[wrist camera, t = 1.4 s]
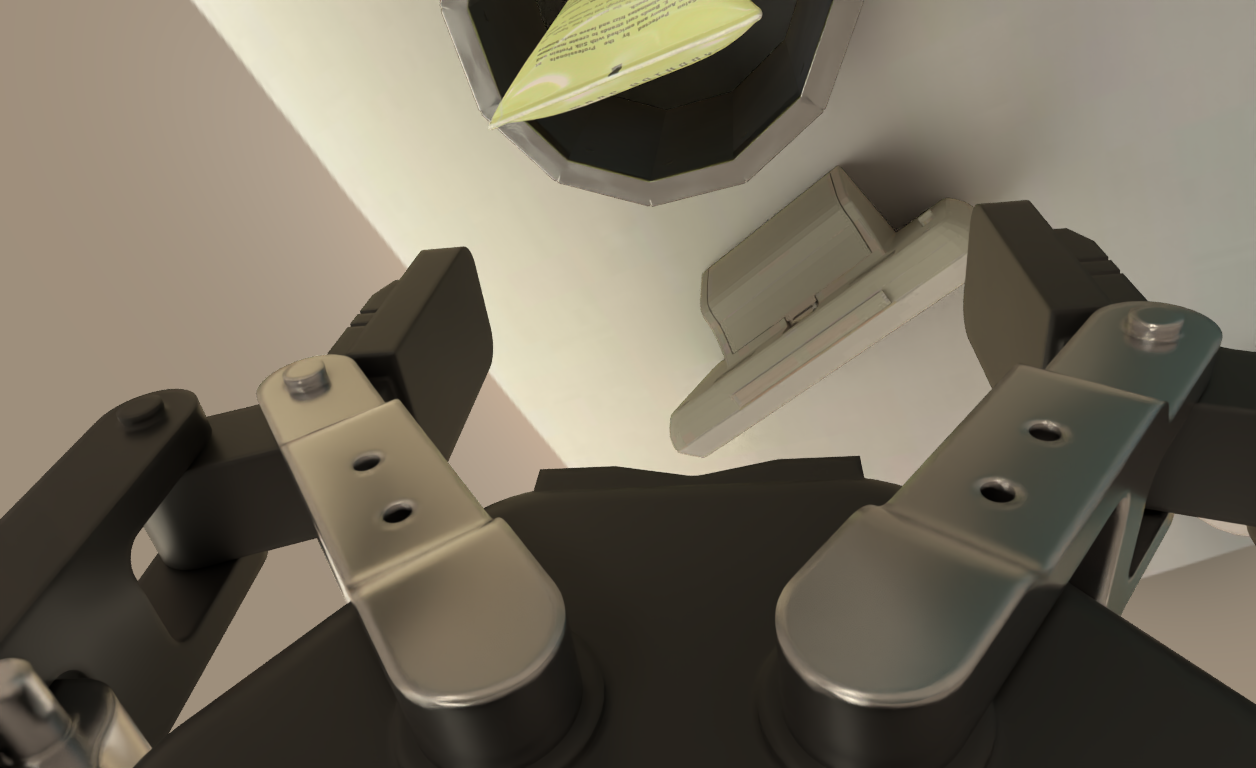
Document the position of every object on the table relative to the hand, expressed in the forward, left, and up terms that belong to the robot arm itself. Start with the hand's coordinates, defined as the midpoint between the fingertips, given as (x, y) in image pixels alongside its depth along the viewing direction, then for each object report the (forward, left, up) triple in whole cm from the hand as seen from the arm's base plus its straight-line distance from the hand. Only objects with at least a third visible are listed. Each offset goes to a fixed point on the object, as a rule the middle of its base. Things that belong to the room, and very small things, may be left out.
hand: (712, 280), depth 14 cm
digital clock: (+13, -6, -29) cm, 32 cm away
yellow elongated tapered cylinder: (-3, -1, -29) cm, 29 cm away
